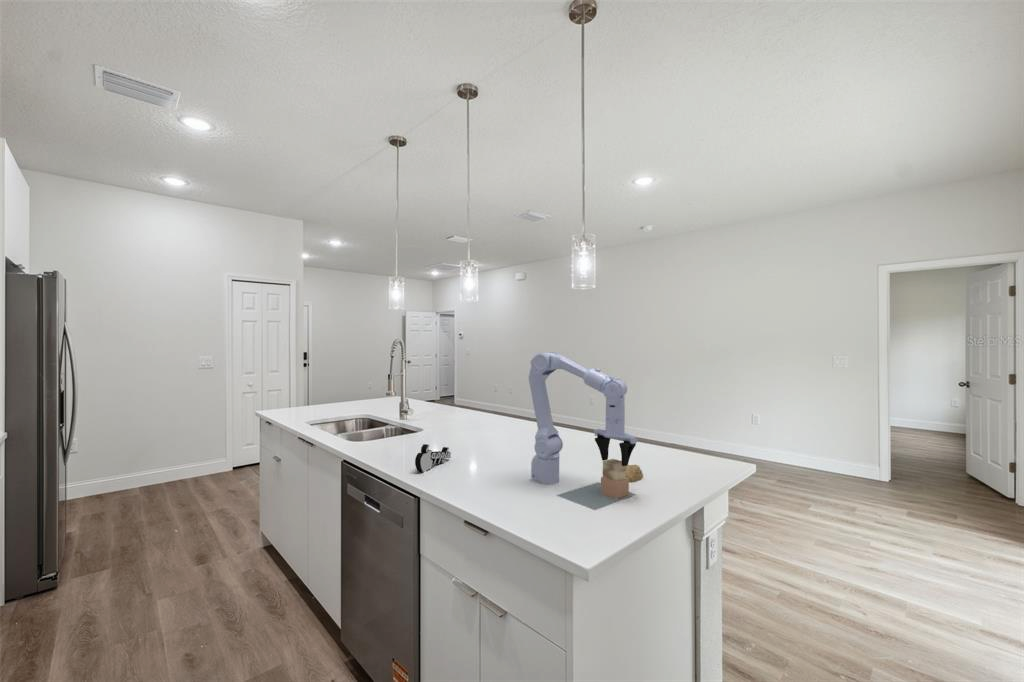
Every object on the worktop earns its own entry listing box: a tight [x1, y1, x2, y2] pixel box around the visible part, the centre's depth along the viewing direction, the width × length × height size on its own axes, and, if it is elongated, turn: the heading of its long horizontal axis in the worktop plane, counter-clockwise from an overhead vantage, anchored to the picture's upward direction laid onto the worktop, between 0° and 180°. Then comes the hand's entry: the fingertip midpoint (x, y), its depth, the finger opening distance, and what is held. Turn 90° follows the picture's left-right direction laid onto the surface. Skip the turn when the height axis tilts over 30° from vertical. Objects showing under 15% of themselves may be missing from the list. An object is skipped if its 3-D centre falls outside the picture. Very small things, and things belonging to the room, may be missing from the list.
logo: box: [414, 443, 452, 473], centre depth 165 cm, size 21×2×10 cm, turn 157°
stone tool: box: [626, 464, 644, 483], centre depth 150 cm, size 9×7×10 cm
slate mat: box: [556, 481, 637, 511], centre depth 133 cm, size 15×20×1 cm
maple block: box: [602, 458, 626, 481], centre depth 134 cm, size 5×5×5 cm
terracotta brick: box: [600, 476, 630, 499], centre depth 134 cm, size 6×6×5 cm
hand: (614, 462), depth 134 cm, fingers open, 7 cm apart
